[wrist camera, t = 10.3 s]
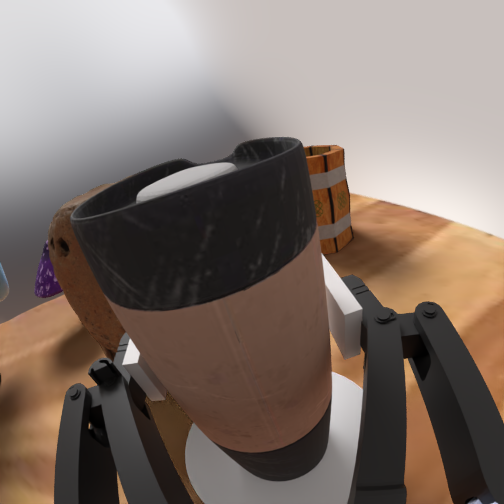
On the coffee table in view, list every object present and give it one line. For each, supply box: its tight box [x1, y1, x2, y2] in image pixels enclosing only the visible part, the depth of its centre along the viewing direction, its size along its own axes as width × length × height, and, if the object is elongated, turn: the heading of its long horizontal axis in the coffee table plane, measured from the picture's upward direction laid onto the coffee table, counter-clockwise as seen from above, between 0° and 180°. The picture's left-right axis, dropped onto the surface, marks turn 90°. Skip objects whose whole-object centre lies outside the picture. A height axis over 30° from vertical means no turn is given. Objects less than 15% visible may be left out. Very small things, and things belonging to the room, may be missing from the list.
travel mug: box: [70, 137, 332, 482], centre depth 13 cm, size 8×8×20 cm
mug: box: [304, 145, 354, 255], centre depth 47 cm, size 20×14×15 cm
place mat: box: [185, 372, 363, 504], centre depth 17 cm, size 16×16×1 cm
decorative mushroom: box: [35, 240, 63, 298], centre depth 36 cm, size 12×12×15 cm
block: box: [48, 176, 130, 362], centre depth 23 cm, size 11×8×20 cm
